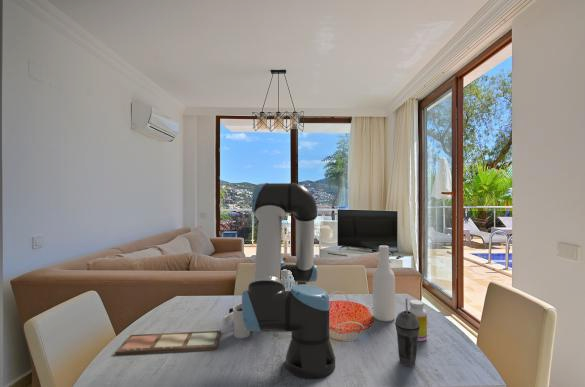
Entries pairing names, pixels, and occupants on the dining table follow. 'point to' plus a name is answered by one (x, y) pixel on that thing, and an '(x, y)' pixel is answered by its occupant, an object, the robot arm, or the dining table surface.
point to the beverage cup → (407, 336)
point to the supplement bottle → (419, 318)
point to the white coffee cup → (239, 323)
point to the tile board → (170, 342)
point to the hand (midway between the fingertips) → (234, 323)
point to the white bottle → (383, 288)
